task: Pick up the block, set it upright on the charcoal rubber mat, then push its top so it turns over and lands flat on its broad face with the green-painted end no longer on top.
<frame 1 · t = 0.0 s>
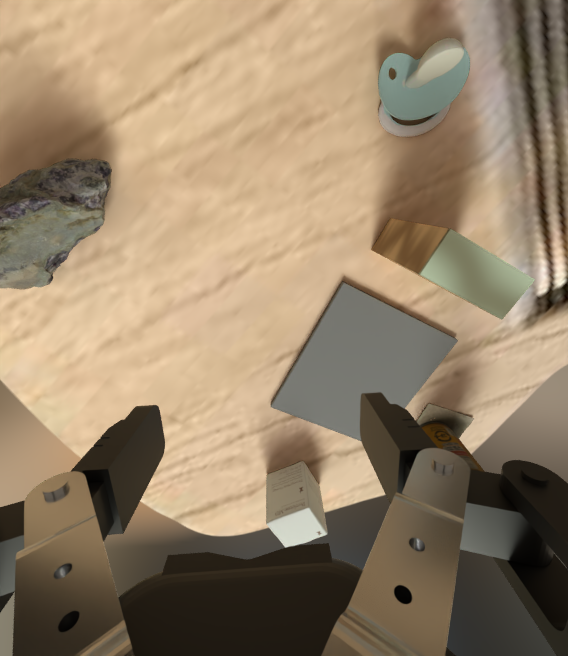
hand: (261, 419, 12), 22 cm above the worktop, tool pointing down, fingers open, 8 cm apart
product box: (293, 478, 45), on the worktop
condiment: (433, 432, 43), on the worktop
pacifier: (410, 99, 27), on the worktop
block: (411, 251, 32), on the worktop
mineral rock: (71, 225, 30), on the worktop
mat: (359, 372, 38), on the worktop
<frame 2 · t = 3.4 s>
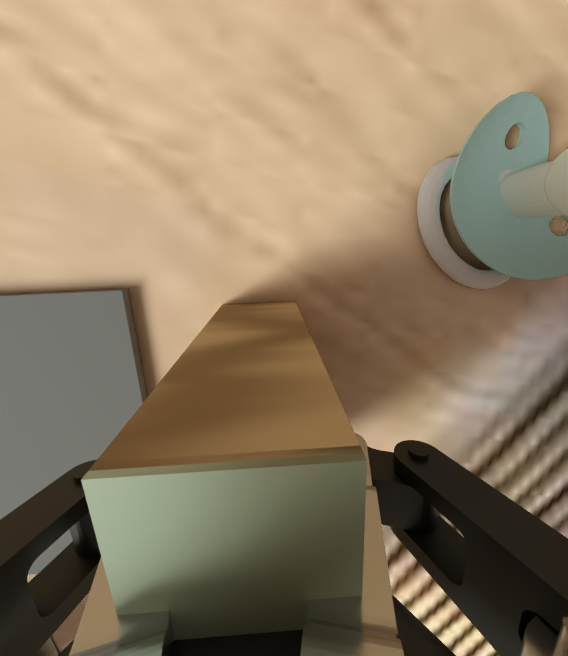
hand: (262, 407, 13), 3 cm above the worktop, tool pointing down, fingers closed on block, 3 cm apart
pacifier: (477, 214, 14), on the worktop
block: (264, 379, 16), on the worktop, touching gripper
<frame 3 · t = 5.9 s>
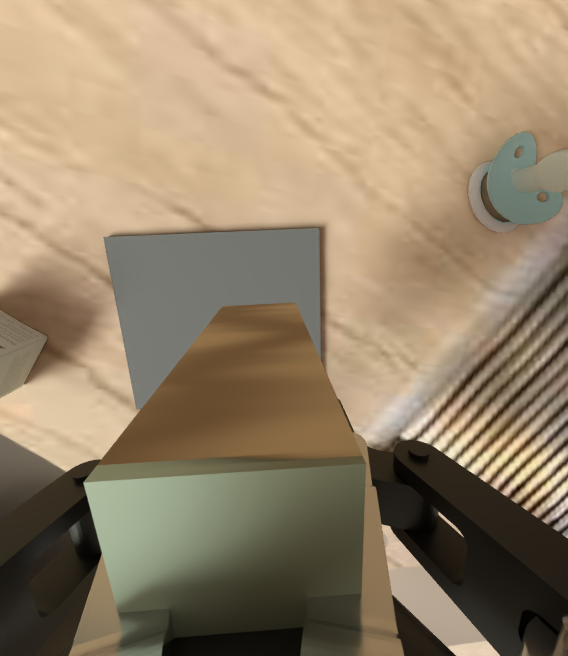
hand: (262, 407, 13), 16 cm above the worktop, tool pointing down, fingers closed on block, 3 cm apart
product box: (7, 344, 28), on the worktop
pacifier: (498, 192, 26), on the worktop
block: (264, 380, 16), point 13 cm above the worktop, touching gripper
mat: (222, 323, 28), on the worktop
when the fingers open (4 cm above the worktop, at t = 8.7 s): block stays where it is, resting on mat.
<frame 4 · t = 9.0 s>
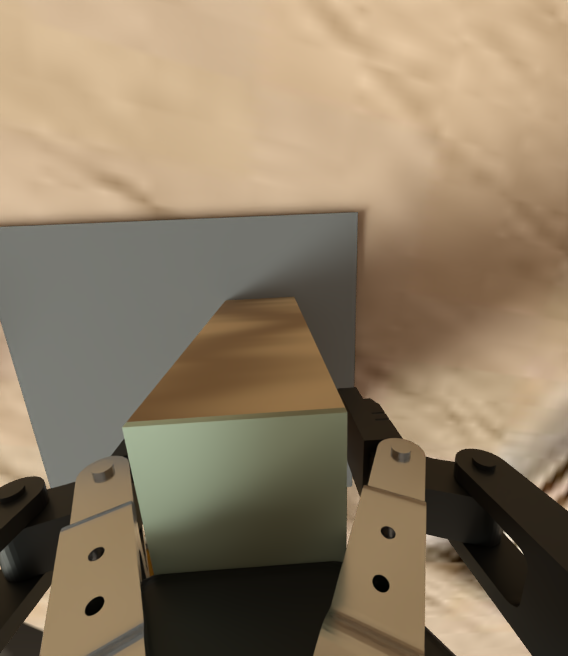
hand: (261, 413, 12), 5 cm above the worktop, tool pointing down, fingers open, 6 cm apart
block: (265, 371, 17), point 1 cm above the worktop, touching mat
mat: (192, 371, 17), on the worktop
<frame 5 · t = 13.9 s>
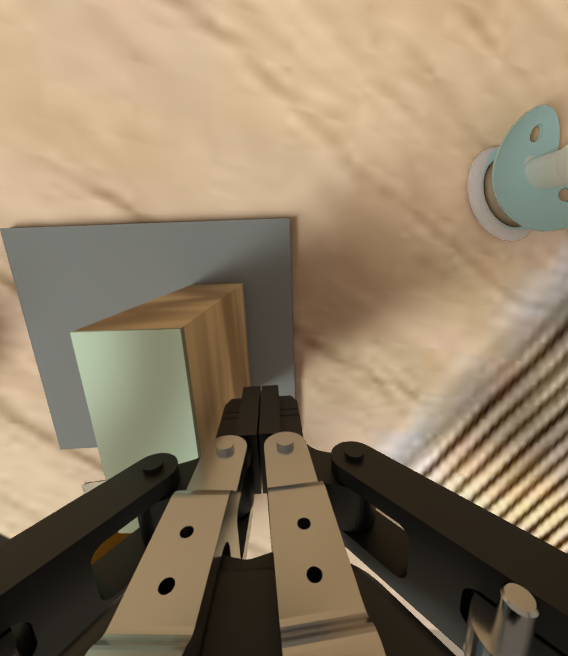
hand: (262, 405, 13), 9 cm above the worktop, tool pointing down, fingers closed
condiment: (146, 509, 26), on the worktop
pacifier: (507, 188, 20), on the worktop
block: (222, 341, 21), point 1 cm above the worktop, touching mat
mat: (167, 341, 22), on the worktop
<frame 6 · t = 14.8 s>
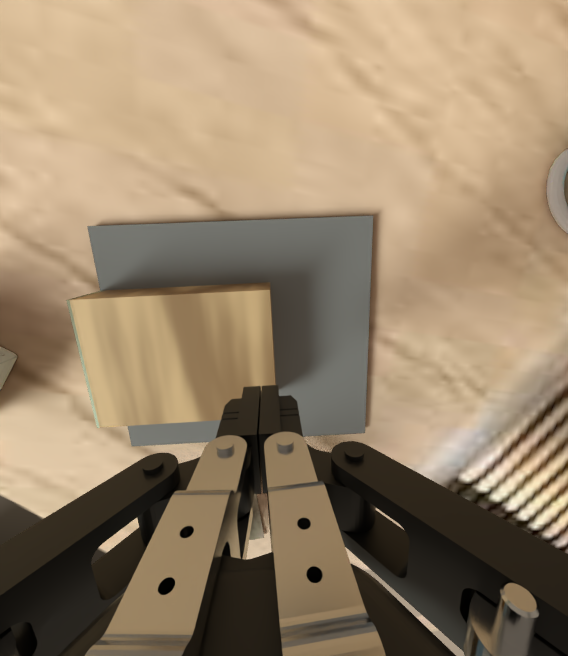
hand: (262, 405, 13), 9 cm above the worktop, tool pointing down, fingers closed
condiment: (209, 506, 26), on the worktop
block: (273, 347, 20), point 2 cm above the worktop, tilted 90°, touching mat
mat: (242, 338, 22), on the worktop
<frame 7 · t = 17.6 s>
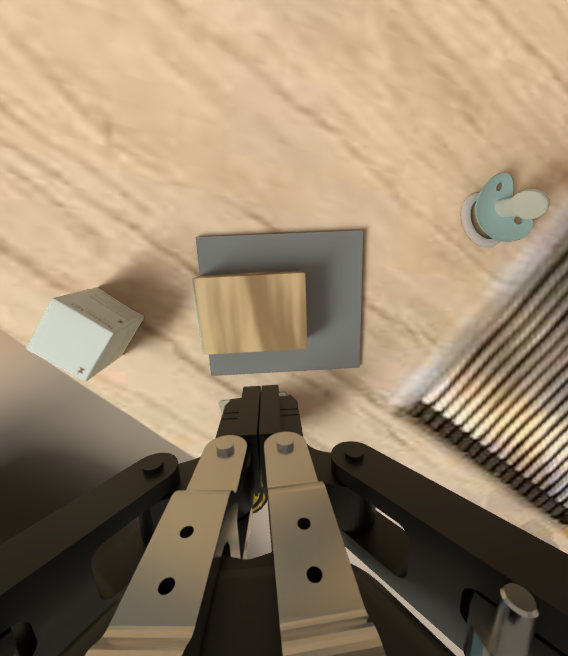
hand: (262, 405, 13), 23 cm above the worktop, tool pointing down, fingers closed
product box: (110, 322, 35), on the worktop
condiment: (257, 420, 39), on the worktop
pacifier: (485, 216, 34), on the worktop
block: (304, 308, 33), point 2 cm above the worktop, tilted 90°, touching mat
mat: (283, 305, 35), on the worktop
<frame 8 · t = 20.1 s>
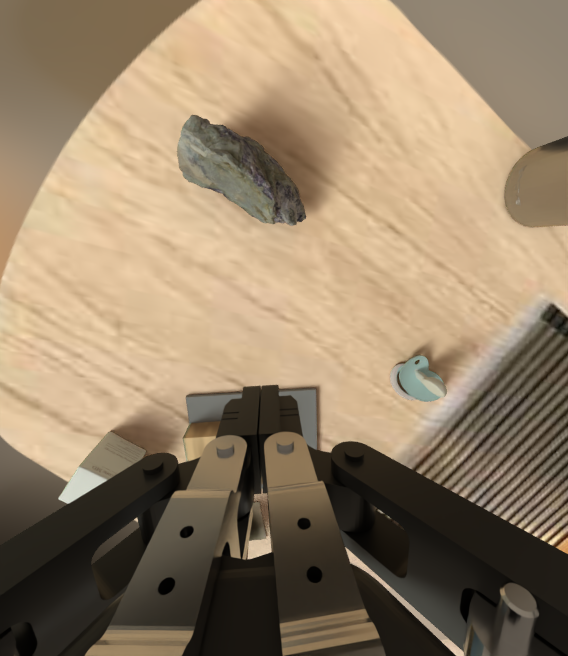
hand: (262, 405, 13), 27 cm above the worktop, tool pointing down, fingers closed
product box: (119, 454, 44), on the worktop
condiment: (236, 521, 49), on the worktop
pacifier: (410, 376, 43), on the worktop
block: (270, 450, 42), point 2 cm above the worktop, tilted 90°, touching mat
mineral rock: (244, 189, 36), on the worktop
mat: (255, 440, 45), on the worktop
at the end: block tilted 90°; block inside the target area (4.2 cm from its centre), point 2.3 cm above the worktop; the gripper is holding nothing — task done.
